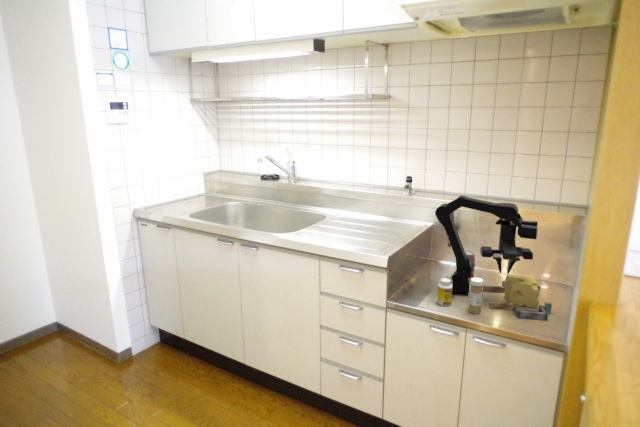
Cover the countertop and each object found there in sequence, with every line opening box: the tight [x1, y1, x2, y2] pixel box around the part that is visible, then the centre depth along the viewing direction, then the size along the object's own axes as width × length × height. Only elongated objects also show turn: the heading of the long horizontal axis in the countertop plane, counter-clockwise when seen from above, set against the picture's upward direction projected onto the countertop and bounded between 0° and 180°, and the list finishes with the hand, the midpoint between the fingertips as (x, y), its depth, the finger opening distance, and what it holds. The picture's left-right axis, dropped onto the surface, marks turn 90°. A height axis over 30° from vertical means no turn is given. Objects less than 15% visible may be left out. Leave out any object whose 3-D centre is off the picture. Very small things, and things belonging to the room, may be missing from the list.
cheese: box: [504, 274, 540, 309], centre depth 170 cm, size 10×11×10 cm
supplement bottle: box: [436, 277, 453, 307], centre depth 170 cm, size 6×6×10 cm
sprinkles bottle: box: [468, 276, 484, 315], centre depth 162 cm, size 5×5×13 cm
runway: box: [482, 280, 553, 321], centre depth 171 cm, size 22×29×4 cm
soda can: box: [464, 249, 476, 283], centre depth 193 cm, size 7×7×13 cm
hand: (504, 272), depth 170 cm, fingers open, 3 cm apart
